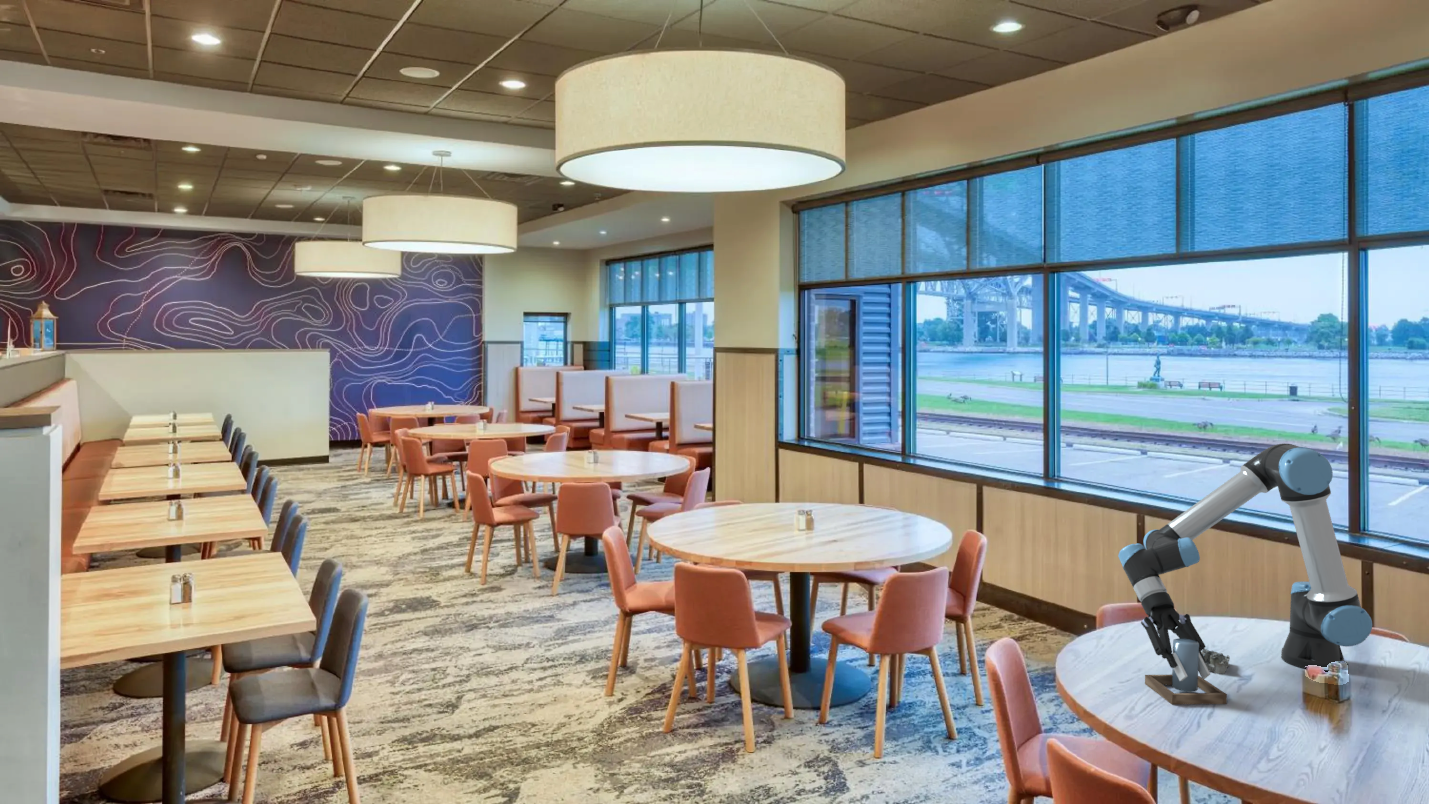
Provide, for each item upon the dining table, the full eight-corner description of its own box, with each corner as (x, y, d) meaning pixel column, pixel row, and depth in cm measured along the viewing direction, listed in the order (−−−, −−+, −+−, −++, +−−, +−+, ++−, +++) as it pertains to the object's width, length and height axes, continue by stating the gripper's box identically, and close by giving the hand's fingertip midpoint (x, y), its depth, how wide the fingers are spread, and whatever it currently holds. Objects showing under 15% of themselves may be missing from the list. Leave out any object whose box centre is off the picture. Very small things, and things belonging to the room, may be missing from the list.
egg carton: (1223, 676, 256) (1224, 661, 256) (1193, 670, 261) (1194, 655, 260) (1232, 665, 264) (1232, 651, 264) (1202, 659, 269) (1203, 645, 269)
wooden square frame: (1196, 683, 250) (1196, 674, 250) (1226, 703, 236) (1226, 694, 236) (1144, 683, 249) (1145, 674, 249) (1172, 704, 235) (1172, 694, 235)
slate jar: (1189, 682, 246) (1191, 638, 245) (1202, 691, 240) (1203, 645, 239) (1167, 683, 245) (1168, 638, 245) (1179, 691, 239) (1180, 646, 239)
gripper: (1177, 602, 258) (1219, 680, 243) (1116, 606, 254) (1155, 687, 240) (1191, 588, 253) (1235, 668, 238) (1129, 592, 249) (1169, 674, 234)
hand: (1195, 677), depth 239 cm, fingers closed on slate jar, 6 cm apart
